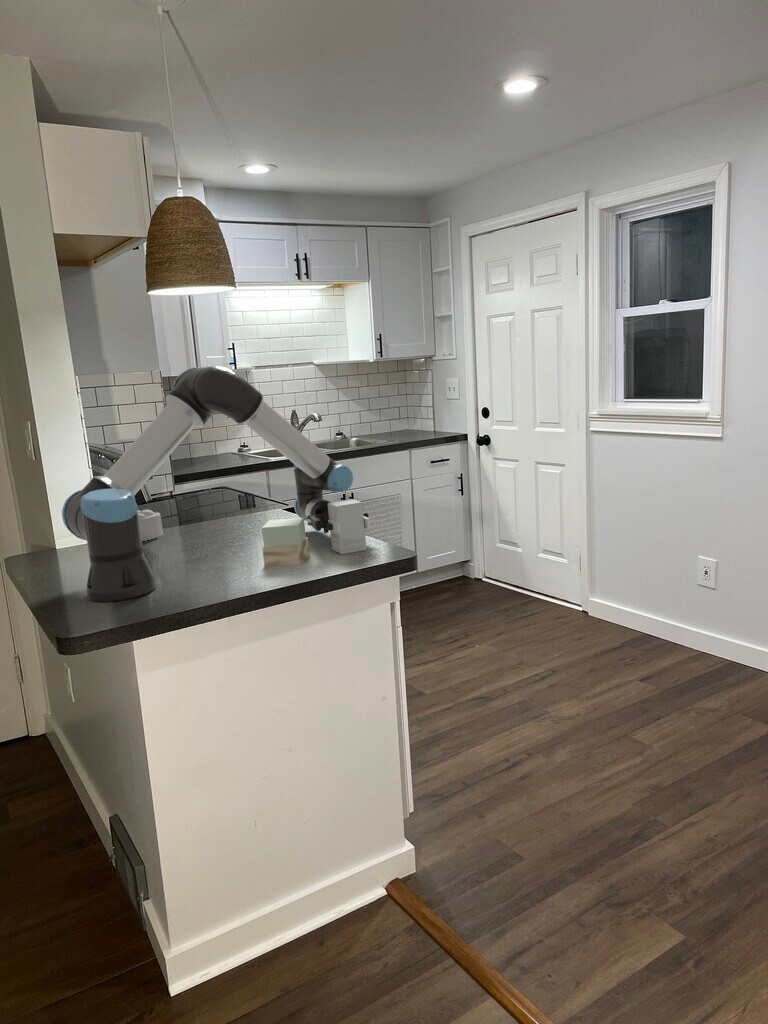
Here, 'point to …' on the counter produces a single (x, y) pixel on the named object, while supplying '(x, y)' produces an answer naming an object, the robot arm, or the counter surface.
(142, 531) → the white bumpy block
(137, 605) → the counter surface
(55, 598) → the counter surface
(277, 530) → the block top
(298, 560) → the block bottom
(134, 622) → the counter surface
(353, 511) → the supplement box
